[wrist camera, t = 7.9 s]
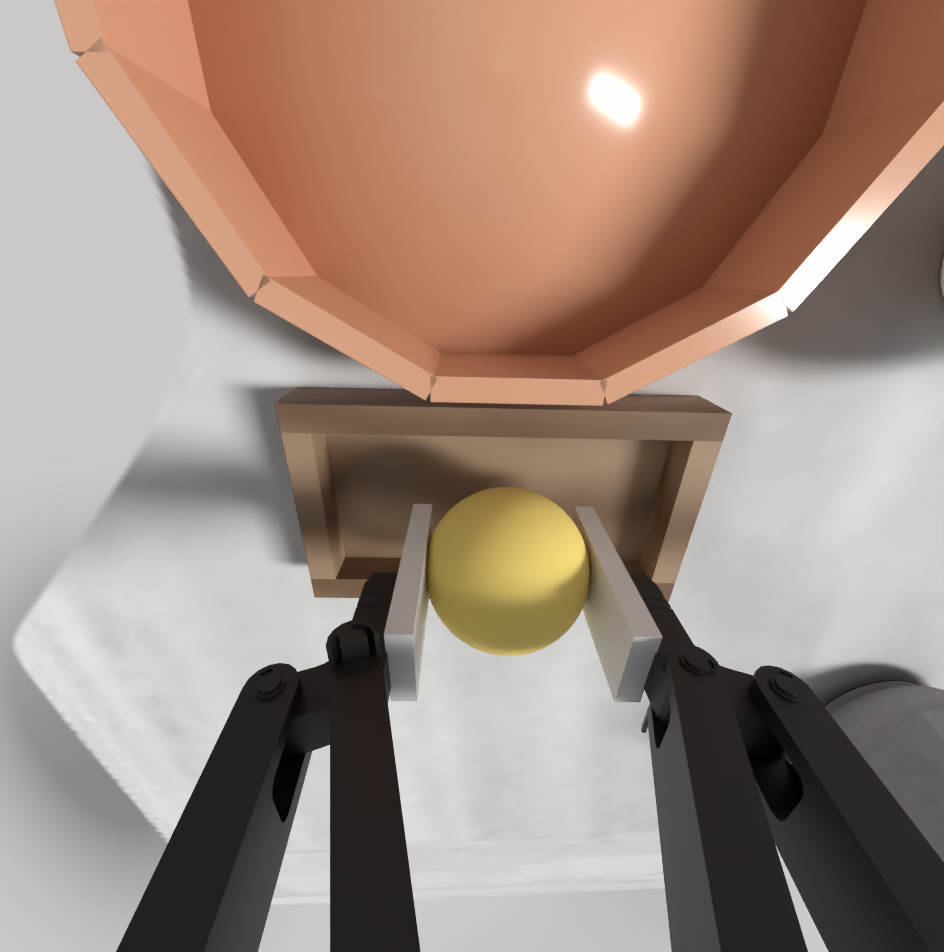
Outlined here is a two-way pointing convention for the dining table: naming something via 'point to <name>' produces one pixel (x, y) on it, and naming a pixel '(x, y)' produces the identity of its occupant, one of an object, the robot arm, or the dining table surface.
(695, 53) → the bowl
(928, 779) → the coffee pot
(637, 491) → the tray
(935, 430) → the dining table surface
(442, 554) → the ball
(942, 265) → the lidded jar
